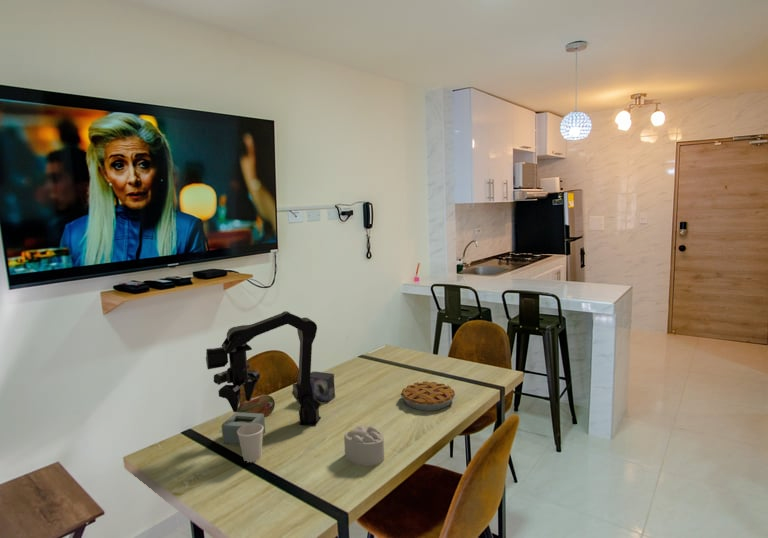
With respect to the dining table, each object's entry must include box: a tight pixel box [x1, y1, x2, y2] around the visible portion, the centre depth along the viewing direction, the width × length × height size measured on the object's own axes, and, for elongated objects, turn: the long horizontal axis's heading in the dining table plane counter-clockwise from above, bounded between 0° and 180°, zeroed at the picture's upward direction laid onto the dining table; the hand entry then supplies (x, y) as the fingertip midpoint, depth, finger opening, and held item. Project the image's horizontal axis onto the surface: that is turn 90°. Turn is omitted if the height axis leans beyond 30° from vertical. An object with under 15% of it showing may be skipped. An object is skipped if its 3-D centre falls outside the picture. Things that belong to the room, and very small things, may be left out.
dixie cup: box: [237, 423, 264, 463], centre depth 154 cm, size 8×8×10 cm
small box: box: [310, 371, 336, 403], centre depth 199 cm, size 11×6×10 cm, turn 68°
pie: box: [400, 381, 456, 412], centre depth 193 cm, size 22×22×5 cm
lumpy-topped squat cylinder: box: [343, 425, 385, 467], centre depth 153 cm, size 10×13×9 cm
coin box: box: [221, 412, 266, 446], centre depth 168 cm, size 11×10×7 cm
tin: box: [237, 394, 276, 418], centre depth 183 cm, size 15×3×8 cm, turn 134°
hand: (241, 406), depth 167 cm, fingers open, 9 cm apart
